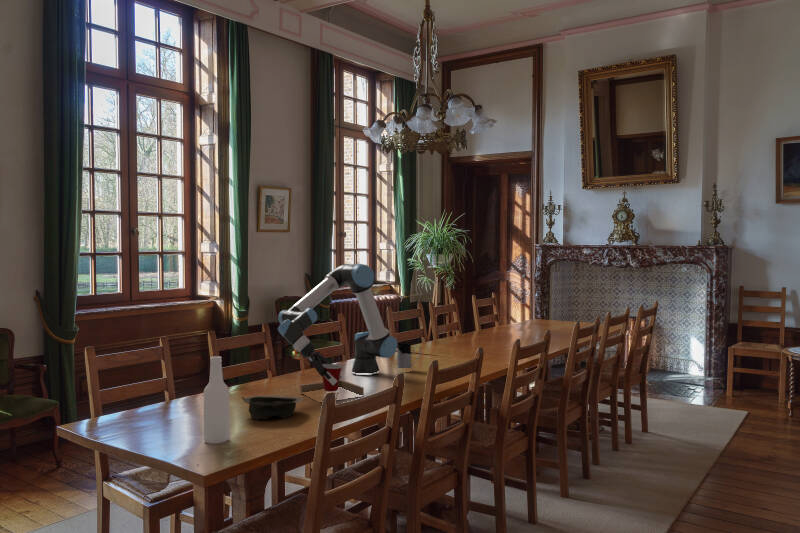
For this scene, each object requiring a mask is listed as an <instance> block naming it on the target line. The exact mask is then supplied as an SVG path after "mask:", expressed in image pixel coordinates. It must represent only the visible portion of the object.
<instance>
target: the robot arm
mask: <svg viewBox="0 0 800 533" xmlns="http://www.w3.org/2000/svg"><path fill="white" fill-rule="evenodd" d="M374 278H375V274H374V271H373V269H372V268H371V267H370V265H367V264H362V263H343V264H341V265H339V266H337V267H335V268H333V269H332V270H331V271H330V272H329V273H328V274H326V275H325V276H324V279H323V280H322V281H321V282H319V284H317V285H316V286H315V287H314V288H312V289H311V290H310V291H309V292H307V293H306V294H305V295H304V296H303V297H302V298H300V299H299V300H298V301H297V302H296V303H295V304H293V305H292V306H291V307H290V308H288V309H283V310H281V311H280V312H279V313H278V316H277V320H278V322H279V324H280V325H279V326H278V327H277V331H278V332H279V334H280V335H281V336H282V337H283V338H284V339H285V340H286V341H287V342H288V343H289V344H290V345H291V346H292V347H293V349H294V350H296V351H297V352H299V355H301V357H302V358H304V359H307V361H308V362H309V363H310V364H311V366H312V367H313V368H314V369H315V371H316V372H317V373H318V374H319V375H320V377H322V376H324V377H325V378H326V379H327V380H328V381H329V382H330V383H331V384H332V385H334V384H335V383H336V382H337V380H336V379H335V378H334V377H333V376H332V375H331V374H330V373H329V372H328V371H326V370H325V368H324V367H323V365H322V364H333V363H331V362H330V360H328V359H327V358H326V357H325V356H324V355H322V353H321V352H320V351H317V352H316V351H315V350H316V348H317V346H316V345H315V344H314V343H313V342H311V340H310V339H309V338H308V337H307V336H306V335H305V334H304V332H305V331H306V330H307V329H308V328H310V327H311V326H313V324H314V323H315V322H316V321H317V320H318V314H317V312H316V311H315V309H314V308H315V307H316V306H317V305H319V304H320V303H321V302H322V301H324V299H325V298H327V297H328V296H330V294H332V292H335V291H338V290H339V289H340V288H344V287H349V288H350V291H351V294H354V295H355V296H356V299H357V302H358V304H359V308H360V311H361V313H362V316H363V319H364V322H365V325H366V328H367V330H368V331H361V332H356V333H355V334H354V361H353V366H352V367H351V368H352V369H351V373H352V372H355V373H374V372H377V371H379V372H380V367H379V364H378V361H377V357H379V358H382V359H386V358H387V359H389V358H391V357H393V356H394V355H395V353H397V349H398V341H397V338H396V337H394V336H392V335H391V334H390V330H389V329H388V328H386V327H385V325H384V322H383V319H382V315H381V314H380V310H379V308H378V305H377V302H376V299H375V295H374V294H373V291H372V288H373V286H374ZM342 378H343V376H342V375H341V374H340V377H339V380H342Z"/></svg>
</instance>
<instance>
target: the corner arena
mask: <svg viewBox="0 0 800 533" xmlns="http://www.w3.org/2000/svg"><path fill="white" fill-rule="evenodd" d="M338 387H342V388H344V389H346V390H349V391H351V392H354V393H356V394H359V395H364V393H365V392H364V387H363V386H360V385H357V384H355V383H352V382H349V381H346V380H343V379H340V380H339V383H338ZM299 388H300V389H299V393H300V392H301V393H302V392H309V391H315V390H321V389H324V384H323V381H322V382H321V381H320V382H315V383H314V382H313V383H307V384H306V383H305V384H300V387H299ZM333 392H334V391H333ZM336 392H337V395H338V394H339V393H340V391H339V390H337V391H336ZM327 393H330V392H327ZM327 393H326V394H327ZM334 393H335V392H334ZM326 394H324V396H325V395H326ZM335 394H336V393H335ZM337 395H336V397H337ZM322 396H323V395H322ZM336 399H337V398H336ZM322 401H323V399H322Z"/></svg>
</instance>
